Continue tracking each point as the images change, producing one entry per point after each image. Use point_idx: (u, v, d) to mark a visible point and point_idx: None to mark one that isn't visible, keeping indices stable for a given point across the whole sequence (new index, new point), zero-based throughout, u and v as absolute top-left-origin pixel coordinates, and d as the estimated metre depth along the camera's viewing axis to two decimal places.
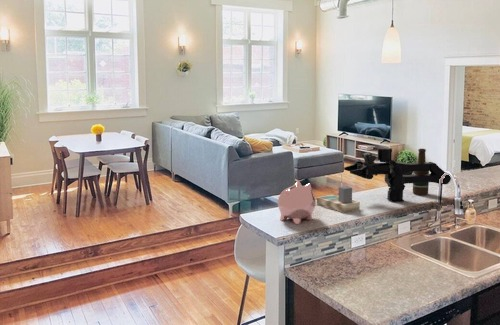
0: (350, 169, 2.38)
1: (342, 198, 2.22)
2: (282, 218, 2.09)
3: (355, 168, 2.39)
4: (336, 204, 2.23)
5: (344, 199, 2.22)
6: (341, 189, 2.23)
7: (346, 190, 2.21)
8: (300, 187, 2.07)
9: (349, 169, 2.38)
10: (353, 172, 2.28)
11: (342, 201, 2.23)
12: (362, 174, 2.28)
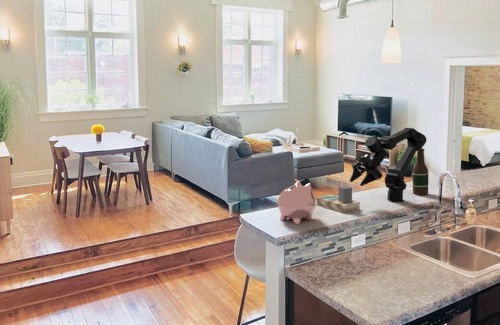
0: (355, 177, 2.30)
1: (342, 198, 2.22)
2: (282, 218, 2.09)
3: (358, 172, 2.30)
4: (336, 204, 2.23)
5: (344, 199, 2.22)
6: (341, 189, 2.23)
7: (346, 190, 2.21)
8: (300, 187, 2.07)
9: (354, 178, 2.30)
10: (363, 183, 2.20)
11: (342, 201, 2.23)
12: (371, 178, 2.20)
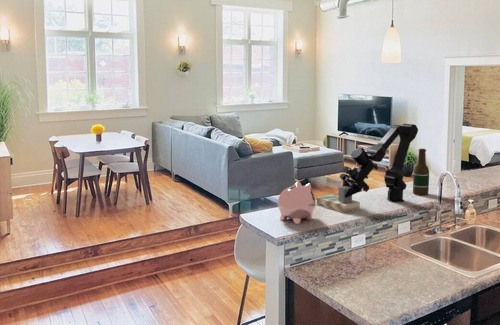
0: None
1: (342, 198, 2.22)
2: (282, 218, 2.09)
3: (348, 185, 2.27)
4: (336, 204, 2.23)
5: (344, 199, 2.22)
6: (341, 189, 2.23)
7: (346, 190, 2.21)
8: (300, 187, 2.07)
9: None
10: (348, 195, 2.21)
11: (342, 201, 2.23)
12: (356, 190, 2.21)
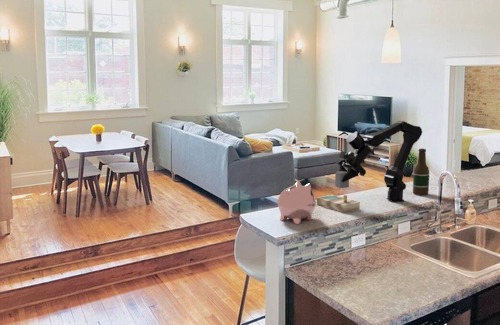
0: None
1: (339, 183, 2.23)
2: (282, 218, 2.09)
3: (344, 170, 2.28)
4: (336, 204, 2.23)
5: (341, 184, 2.22)
6: (338, 174, 2.23)
7: (343, 175, 2.22)
8: (300, 187, 2.07)
9: None
10: (345, 179, 2.22)
11: (339, 186, 2.23)
12: (353, 174, 2.22)
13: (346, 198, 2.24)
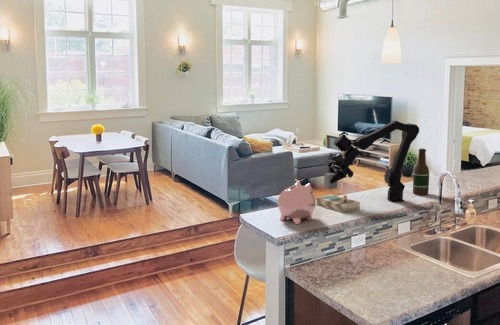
0: None
1: (327, 184, 2.30)
2: (282, 218, 2.09)
3: (333, 171, 2.35)
4: (336, 204, 2.23)
5: (329, 185, 2.29)
6: (326, 175, 2.30)
7: (331, 176, 2.29)
8: (300, 187, 2.07)
9: None
10: (333, 181, 2.29)
11: (328, 187, 2.30)
12: (341, 176, 2.28)
13: (346, 198, 2.24)
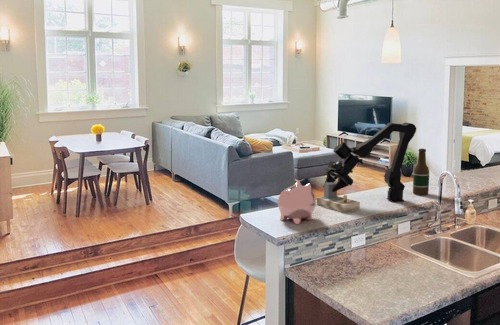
0: None
1: (327, 194, 2.31)
2: (282, 218, 2.09)
3: (331, 178, 2.37)
4: (336, 204, 2.23)
5: (329, 194, 2.30)
6: (326, 185, 2.31)
7: (331, 186, 2.30)
8: (300, 187, 2.07)
9: None
10: (335, 189, 2.27)
11: (327, 196, 2.31)
12: (343, 184, 2.27)
13: (346, 198, 2.24)
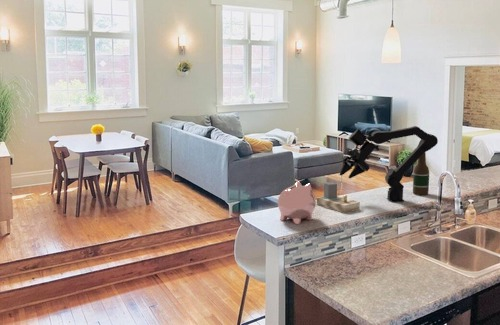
0: (345, 170, 2.39)
1: (327, 194, 2.31)
2: (282, 218, 2.09)
3: (347, 166, 2.39)
4: (336, 204, 2.23)
5: (329, 194, 2.30)
6: (326, 185, 2.31)
7: (331, 186, 2.30)
8: (300, 187, 2.07)
9: (344, 171, 2.39)
10: (351, 175, 2.29)
11: (327, 196, 2.31)
12: (359, 170, 2.29)
13: (346, 198, 2.24)
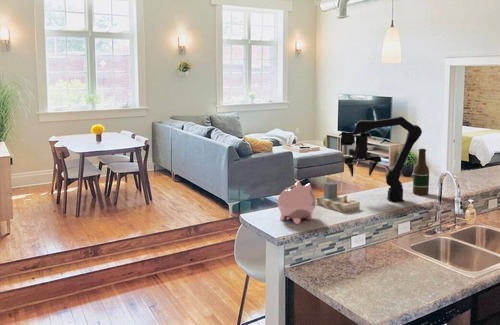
0: (370, 169, 2.40)
1: (327, 194, 2.31)
2: (282, 218, 2.09)
3: (371, 164, 2.40)
4: (336, 204, 2.23)
5: (329, 194, 2.30)
6: (326, 185, 2.31)
7: (331, 186, 2.30)
8: (300, 187, 2.07)
9: (370, 170, 2.40)
10: (351, 173, 2.40)
11: (327, 196, 2.31)
12: None
13: (346, 198, 2.24)
